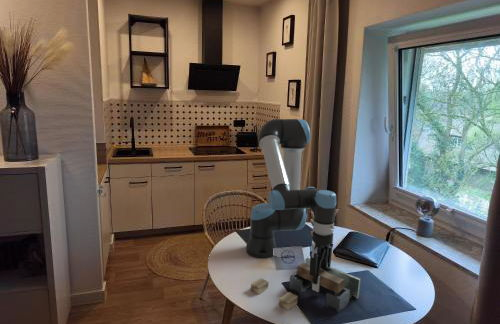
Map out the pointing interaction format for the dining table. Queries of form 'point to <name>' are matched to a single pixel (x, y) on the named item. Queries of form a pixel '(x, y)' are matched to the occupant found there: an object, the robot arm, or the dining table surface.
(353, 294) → the bracket
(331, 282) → the rail
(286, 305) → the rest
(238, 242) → the dining table surface
